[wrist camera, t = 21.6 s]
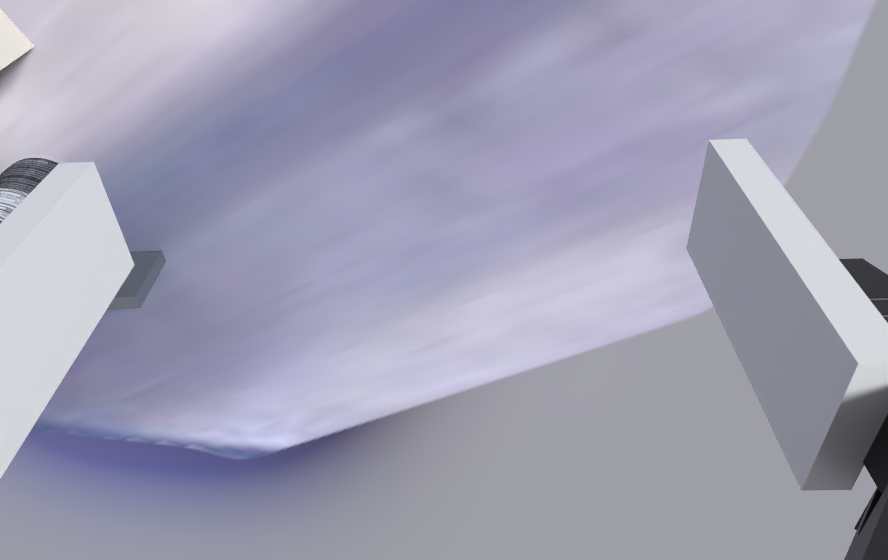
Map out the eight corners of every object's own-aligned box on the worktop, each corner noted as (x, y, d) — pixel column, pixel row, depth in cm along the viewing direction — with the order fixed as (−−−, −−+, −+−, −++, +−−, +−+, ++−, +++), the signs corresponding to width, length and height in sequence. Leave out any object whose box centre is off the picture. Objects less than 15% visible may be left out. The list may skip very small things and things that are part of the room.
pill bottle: (64, 241, 51) (-19, 345, 42) (-11, 186, 48) (-116, 285, 39) (111, 198, 49) (35, 298, 40) (36, 138, 46) (-64, 231, 37)
